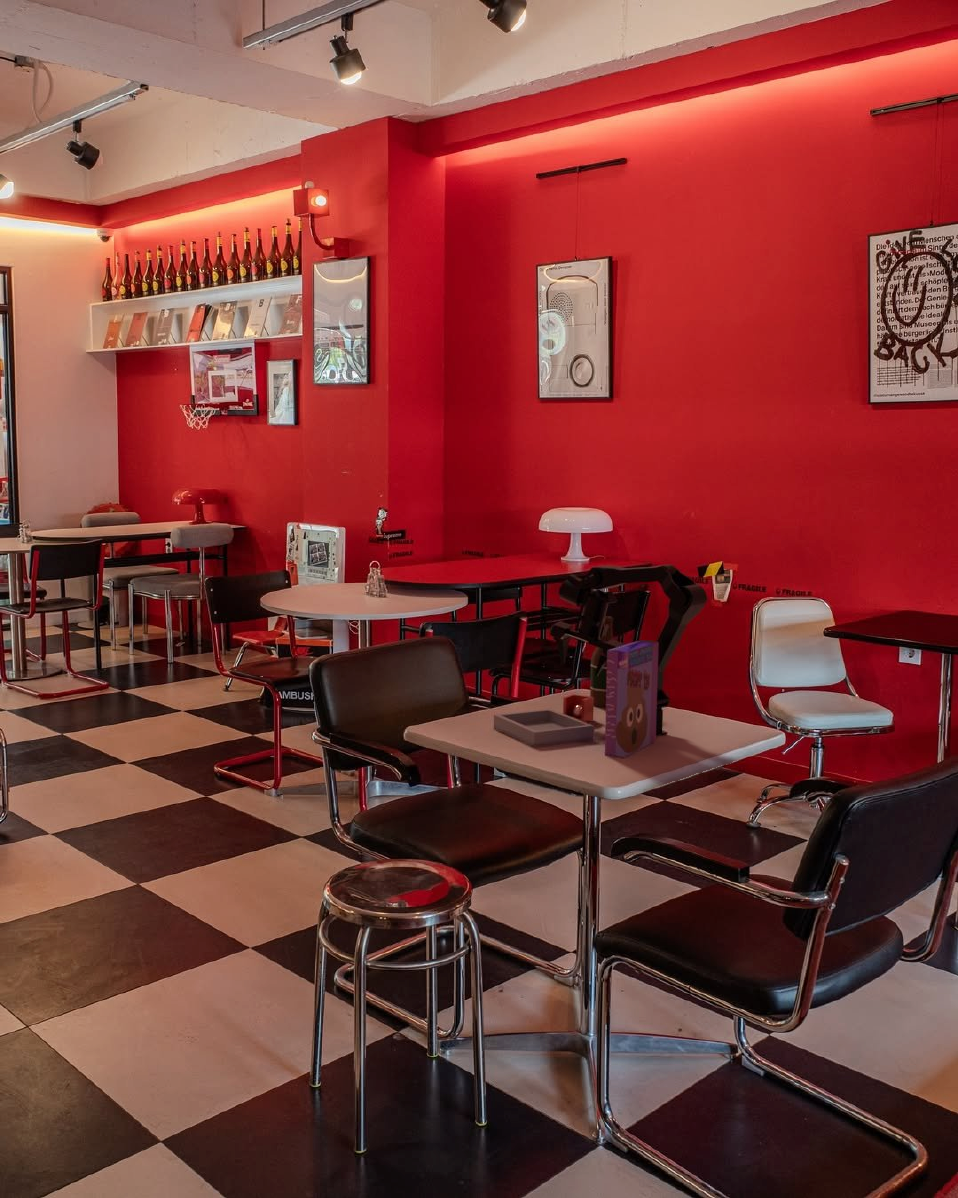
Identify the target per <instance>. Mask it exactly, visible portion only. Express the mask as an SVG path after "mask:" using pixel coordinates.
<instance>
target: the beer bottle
mask: <svg viewBox="0 0 958 1198" xmlns="http://www.w3.org/2000/svg"><path fill="white" fill-rule="evenodd" d="M613 622H614V617H612V616H608V615H605V624H607V625H609V627H608V630H607V632H606V635H605V637H604V636H603V637H602V638H599V639H600V640H602V641H605V642H608V641H609V640H611V639H613V640H614V636H613V634H614V633H613V629H614V628H613ZM601 654H603V649H602V648H599V647H596V648H595V649H594V651H593V653H592V654H591V658H590V659H591V660H590V678H589V679H590V689H589V691H590V692H589V696H590V697H594V707H596V706H598V707H597V708H603V709H604V708H605V709H606V681H607V663H606V664H605V665H604V667H603V669H602V670H601V671H600V673H599V674H598V676H597V677H595V671H596V668H597V665H598V661H599V658H600V655H601Z"/></svg>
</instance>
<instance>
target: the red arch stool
mask: <svg viewBox="0 0 958 1198" xmlns="http://www.w3.org/2000/svg"><path fill="white" fill-rule="evenodd" d="M562 699H563V701H562V702H563V704H562V705H563V706H562V707H563V708H562V713H563V714H565V715H568V716H570V717H573V718H575V719H578V720H580V721H583V722H585V723H588V724H589V723H590V722H592V721H594V710H595V709H594V707H595V706H594V697H590V695H589V696H588V695H582V694H576V693H575V694H573V693H572V694H569V695H566V696H564V697H563V698H562ZM576 705H581V706H582V708H581V717H576V716H575V715H574V714H573V708H574V707H575V706H576Z"/></svg>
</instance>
